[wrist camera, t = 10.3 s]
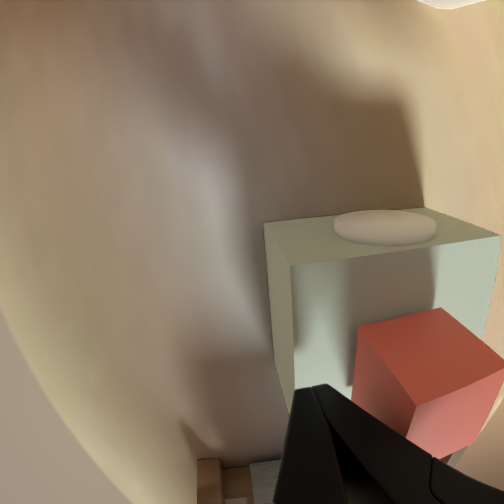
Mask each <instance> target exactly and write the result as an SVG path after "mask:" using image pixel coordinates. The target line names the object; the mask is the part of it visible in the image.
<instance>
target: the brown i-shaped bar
mask: <svg viewBox="0 0 504 504" xmlns="http://www.w3.org/2000/svg"><path fill="white" fill-rule="evenodd" d="M467 447H468V445H467V446H466V447H464V448H462V449H460V450H458V451H456V452H454V453H452V454H449V455H447V456H445V457H443V458H441V459H439V460H441V461H443V462H444V463H446V464H447V465H449V466H451V467H453V468H454V469H455V467H456V465H457V464H458V462H459V460H460V459H461V457H462V455H463V454H464V452H465V450H466V448H467ZM197 504H254V497H253V487H252V479H251V472H250V467H243V468H233V469H222V467H221V463H220V460H219V459H205V460H198V468H197Z"/></svg>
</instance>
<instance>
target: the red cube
mask: <svg viewBox="0 0 504 504" xmlns="http://www.w3.org/2000/svg"><path fill="white" fill-rule="evenodd" d="M503 381H504V359H502V358H501V357H500V356H499V355H498V354H497V353H496V352H494V351H493V350H492V349H491V348H490V347H489V346H487V345H486V344H485V343H484V342H483V341H482V340H480V339H479V338H478V337H477V336H476V335H474V334H473V333H472V332H471V331H470V330H468V329H467V328H466V327H465V326H464V325H462V324H461V323H460V322H459V321H458V320H456V319H455V318H454V317H453V316H451V315H450V314H449V313H448V312H446V311H445V310H444V309H443V308H441V307H440V308H436V309H432V310H428V311H424V312H420V313H416V314H412V315H408V316H403V317H399V318H395V319H390V320H386V321H381V322H377V323H372V324H367V325H362V326H358V335H357V347H356V358H355V368H354V378H353V387H352V395H351V401H353V402H354V403H355V404H357V405H358V406H360V407H361V408H362V409H364V410H365V411H367V412H368V413H370V414H371V415H372V416H374V417H375V418H377V419H378V420H380V421H381V422H383V423H384V424H386V425H387V426H389V427H390V428H392V429H393V430H395V431H396V432H397V433H399V434H400V435H402V436H403V437H405V438H407V439H408V440H410V441H411V442H413V443H414V444H416V445H417V446H419V447H420V448H422V449H423V450H425V451H427V452H428V453H430V454H431V455H432V458H433V457H436V458H438V459H441V458H443V457H445V456H447V455H449V454H452V453H454V452H456V451H458V450H460V449H462V448H464V447H466V446H467V445H469V444H471V443H473V442H475V440H476V438H477V436H478V435H479V433H480V431H481V429H482V427H483V425H484V423H485V421H486V419H487V417H488V415H489V413H490V411H491V409H492V407H493V404H494V402H495V400H496V398H497V395H498V393H499V391H500V389H501V386H502V384H503Z"/></svg>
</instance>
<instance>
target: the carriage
mask: <svg viewBox="0 0 504 504" xmlns="http://www.w3.org/2000/svg"><path fill="white" fill-rule="evenodd" d="M280 462H281V459H280V460H274V461H267V462H260V463H252V464H250V472H251V479H252V487H253V497H254V504H272V499H273V494H274V490H275V486H276V481H277V476H278V472H279V467H280Z"/></svg>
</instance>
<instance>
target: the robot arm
mask: <svg viewBox="0 0 504 504" xmlns="http://www.w3.org/2000/svg"><path fill="white" fill-rule="evenodd" d="M272 504H504V491H502V490H499V489H497V488H494V487H492V486H489V485H487V484H485V483H482V482H480V481H478V480H476V479H474V478H472V477H469V476H467V475H465V474H463V473H462V472H460V471H458V470H456V469H454V468H453V467H451V466H449V465H447V464H446V463H444V462H443V461H441V460H439V459H438V458H436V457H433V458H432V455H431V454H430V453H428V452H427V451H425V450H423V449H422V448H420V447H419V446H417V445H416V444H414V443H413V442H411V441H410V440H408V439H407V438H405V437H403V436H402V435H400V434H399V433H397V432H396V431H395V430H393V429H392V428H390V427H389V426H387V425H386V424H384V423H383V422H381V421H380V420H378V419H377V418H375V417H374V416H372V415H371V414H370V413H368V412H367V411H365V410H364V409H362V408H361V407H360V406H358V405H357V404H355V403H354V402H353V401H351V400H350V399H348V398H347V397H345V396H344V395H343V394H341V393H340V392H339V391H337V390H336V389H334V388H333V387H332V386H330V385H329V384H326V383H325V384H320V385H315V386H312V387H304V388H299V389H295V390H294V394H293V399H292V405H291V411H290V416H289V422H288V427H287V432H286V437H285V443H284V448H283V453H282V458H281V462H280V467H279V472H278V476H277V481H276V486H275V490H274V494H273V499H272Z"/></svg>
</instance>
